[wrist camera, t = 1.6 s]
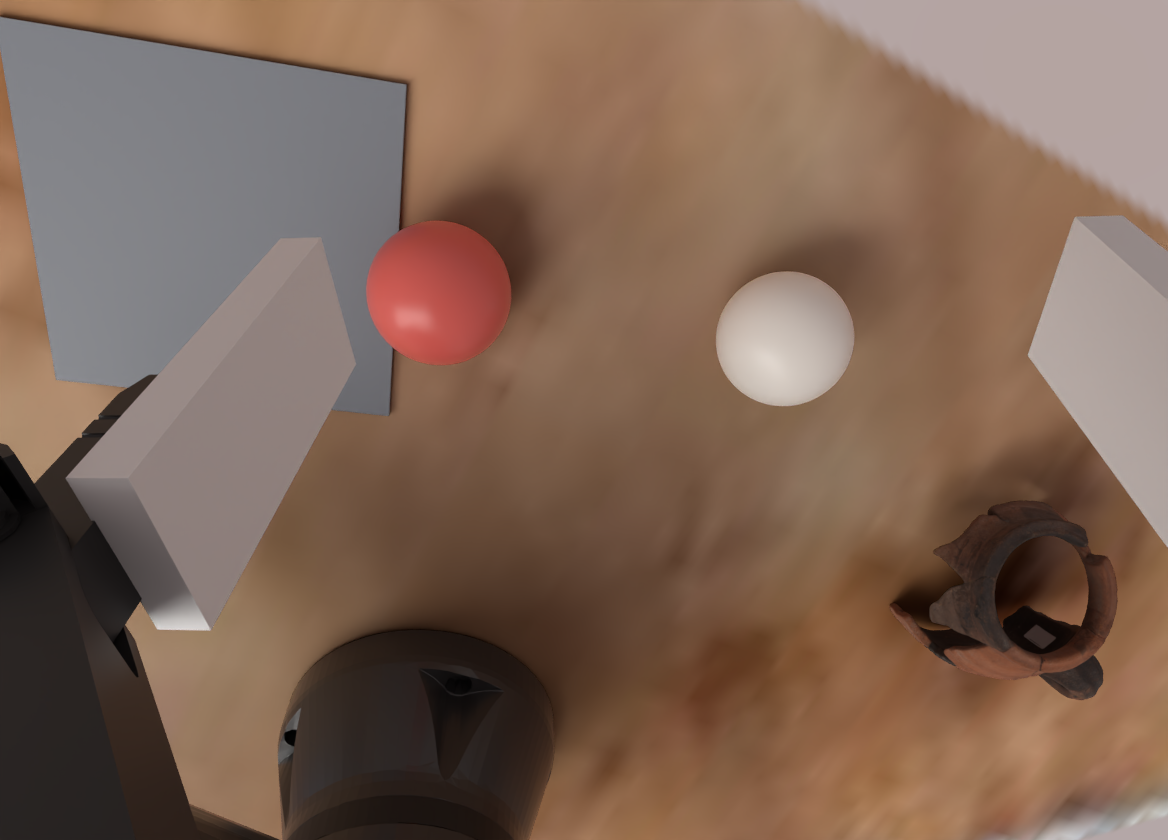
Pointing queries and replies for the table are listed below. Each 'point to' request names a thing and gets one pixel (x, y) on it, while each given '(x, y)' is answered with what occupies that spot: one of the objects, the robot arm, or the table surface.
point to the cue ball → (785, 338)
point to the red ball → (438, 292)
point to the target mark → (193, 191)
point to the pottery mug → (1026, 634)
